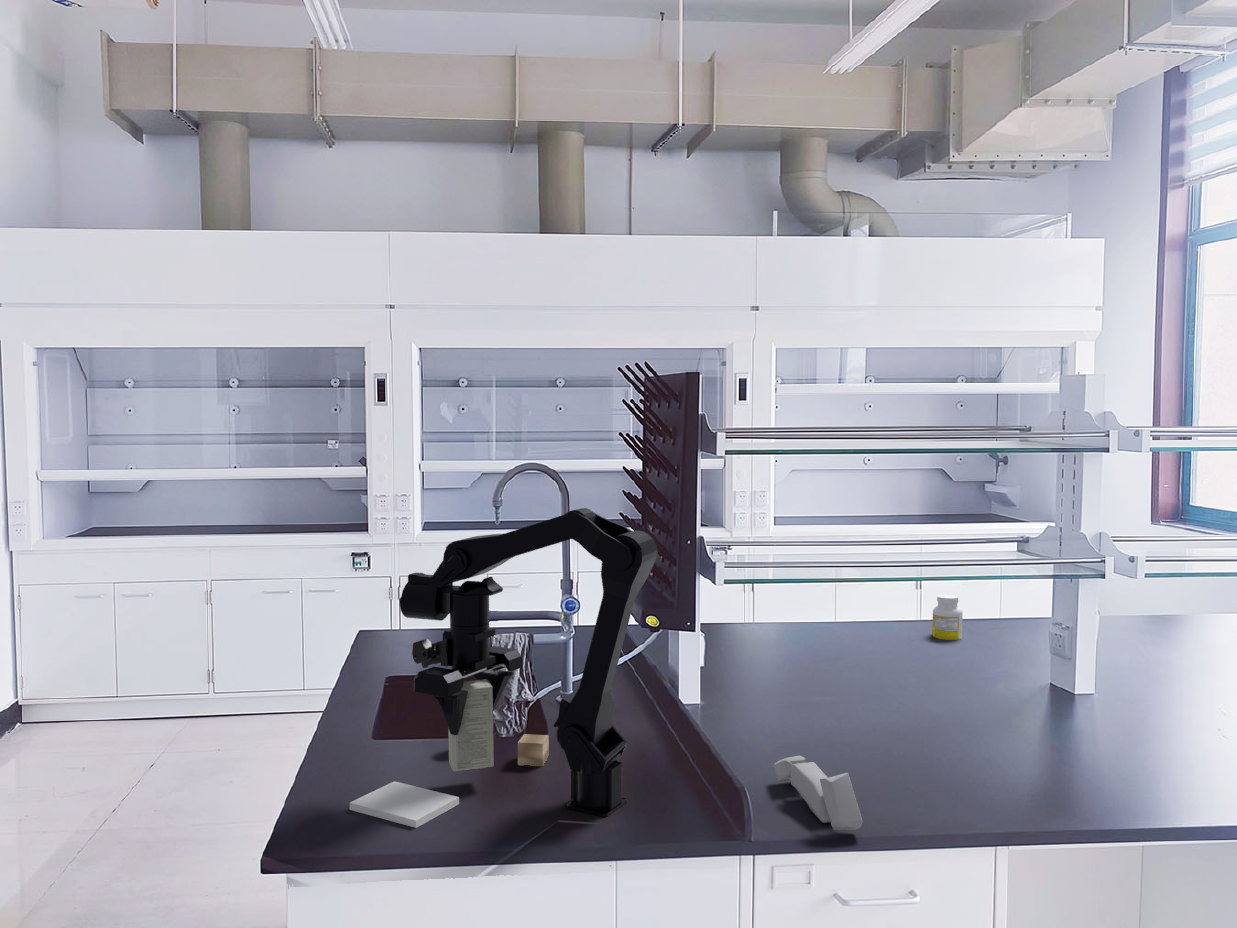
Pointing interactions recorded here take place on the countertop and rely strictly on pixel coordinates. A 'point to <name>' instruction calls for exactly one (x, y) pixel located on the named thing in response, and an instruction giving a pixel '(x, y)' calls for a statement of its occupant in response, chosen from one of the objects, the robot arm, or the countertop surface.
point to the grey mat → (404, 804)
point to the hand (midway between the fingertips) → (470, 727)
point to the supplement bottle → (947, 618)
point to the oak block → (533, 750)
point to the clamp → (822, 792)
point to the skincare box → (474, 729)
